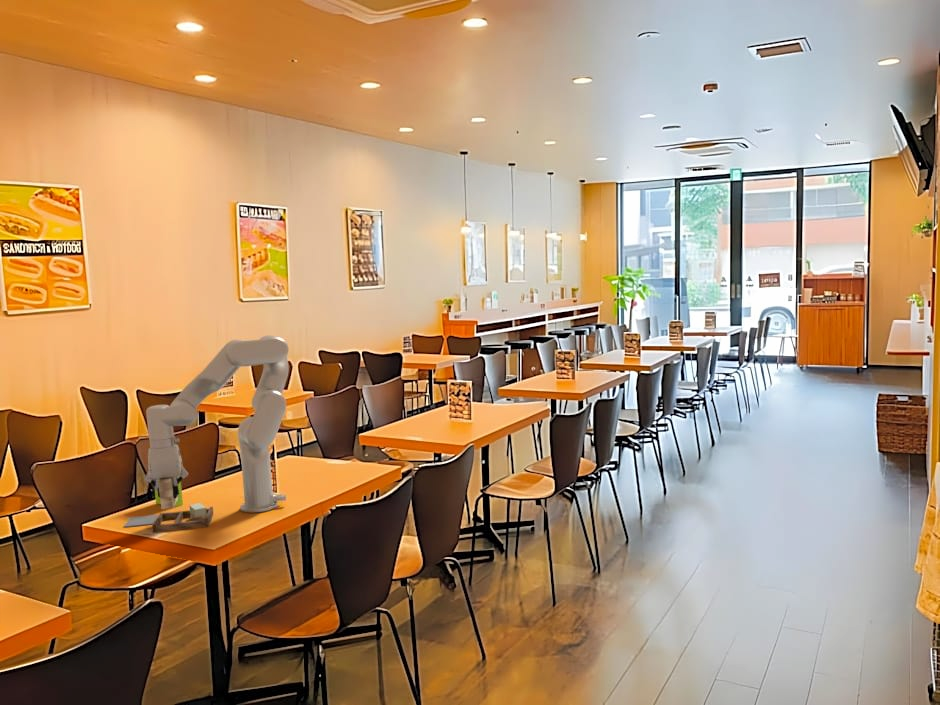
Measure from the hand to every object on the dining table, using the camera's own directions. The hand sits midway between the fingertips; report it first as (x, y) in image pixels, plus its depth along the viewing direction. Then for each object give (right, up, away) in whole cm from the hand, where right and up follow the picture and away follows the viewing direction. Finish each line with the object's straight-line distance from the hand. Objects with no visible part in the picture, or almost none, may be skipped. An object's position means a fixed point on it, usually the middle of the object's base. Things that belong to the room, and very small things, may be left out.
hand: (169, 497), depth 259 cm
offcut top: (+9, -6, +2) cm, 11 cm away
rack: (+4, -9, +1) cm, 10 cm away
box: (-9, -7, +24) cm, 27 cm away
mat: (-11, -9, +5) cm, 15 cm away
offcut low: (+9, -9, +3) cm, 13 cm away
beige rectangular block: (0, -2, 0) cm, 2 cm away
